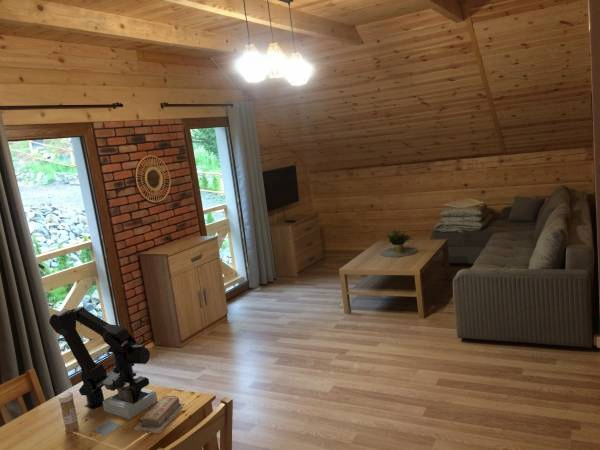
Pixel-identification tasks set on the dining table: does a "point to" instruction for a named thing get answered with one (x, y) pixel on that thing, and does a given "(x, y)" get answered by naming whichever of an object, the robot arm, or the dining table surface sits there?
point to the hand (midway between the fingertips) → (130, 401)
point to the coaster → (106, 428)
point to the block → (126, 394)
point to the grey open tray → (129, 404)
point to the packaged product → (160, 415)
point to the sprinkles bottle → (68, 411)
